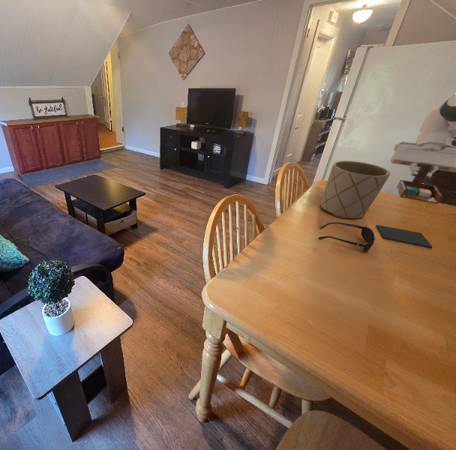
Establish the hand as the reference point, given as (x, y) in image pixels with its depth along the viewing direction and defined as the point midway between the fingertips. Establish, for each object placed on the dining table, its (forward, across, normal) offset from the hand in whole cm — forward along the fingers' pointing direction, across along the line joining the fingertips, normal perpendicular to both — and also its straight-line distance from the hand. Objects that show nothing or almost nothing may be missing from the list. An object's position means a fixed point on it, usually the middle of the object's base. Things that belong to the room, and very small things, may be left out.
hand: (420, 176), depth 94 cm
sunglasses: (+36, -18, -9) cm, 41 cm away
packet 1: (+8, -2, -1) cm, 8 cm away
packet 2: (+8, +2, -1) cm, 8 cm away
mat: (+24, +1, +3) cm, 25 cm away
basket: (+8, 0, 0) cm, 8 cm away
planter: (+17, -19, +10) cm, 28 cm away
